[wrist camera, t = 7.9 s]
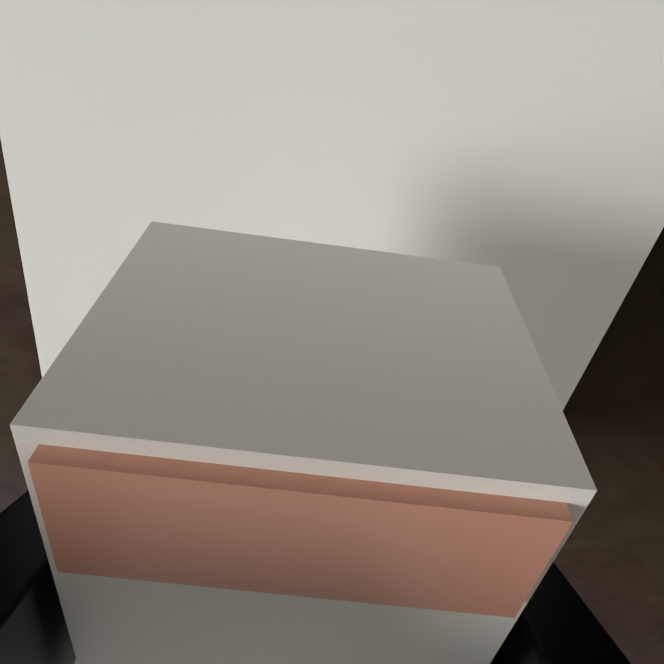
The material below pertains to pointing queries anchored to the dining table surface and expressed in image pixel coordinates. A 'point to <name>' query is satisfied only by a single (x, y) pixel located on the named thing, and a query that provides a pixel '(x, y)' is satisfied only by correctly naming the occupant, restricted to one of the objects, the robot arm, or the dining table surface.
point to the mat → (342, 142)
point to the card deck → (297, 458)
